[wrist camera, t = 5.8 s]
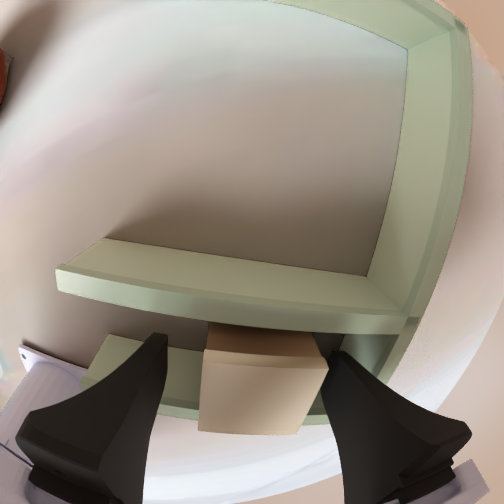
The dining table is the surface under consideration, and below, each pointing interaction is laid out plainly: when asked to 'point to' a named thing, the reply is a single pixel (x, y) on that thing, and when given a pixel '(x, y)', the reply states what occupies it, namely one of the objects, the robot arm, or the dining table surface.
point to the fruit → (3, 72)
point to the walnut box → (258, 379)
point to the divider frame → (310, 280)
